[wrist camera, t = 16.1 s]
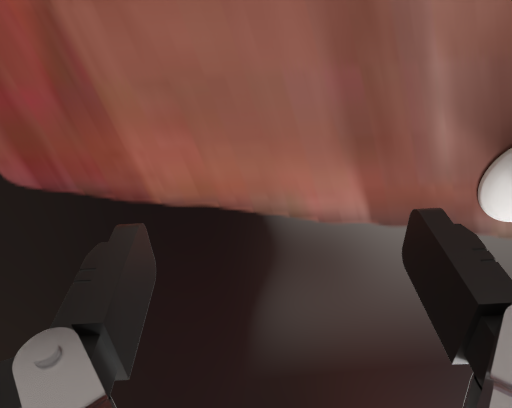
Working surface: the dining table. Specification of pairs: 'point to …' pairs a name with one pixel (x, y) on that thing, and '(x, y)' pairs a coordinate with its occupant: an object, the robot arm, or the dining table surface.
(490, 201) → the candlestick
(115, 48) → the dining table surface
